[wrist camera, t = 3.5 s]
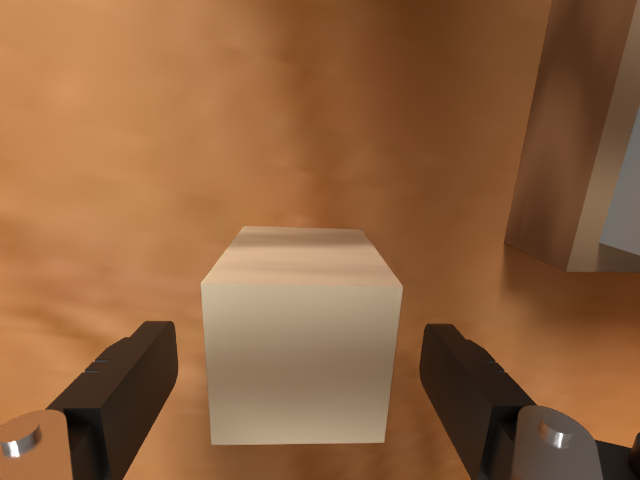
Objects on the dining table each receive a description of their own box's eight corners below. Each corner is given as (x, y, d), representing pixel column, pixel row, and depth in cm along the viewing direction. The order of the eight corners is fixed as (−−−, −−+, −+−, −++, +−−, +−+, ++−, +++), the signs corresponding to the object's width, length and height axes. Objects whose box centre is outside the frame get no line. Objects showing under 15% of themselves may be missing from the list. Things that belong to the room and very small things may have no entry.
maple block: (244, 225, 14) (200, 283, 8) (361, 228, 14) (402, 286, 8) (246, 330, 15) (211, 445, 9) (353, 330, 15) (384, 442, 9)
